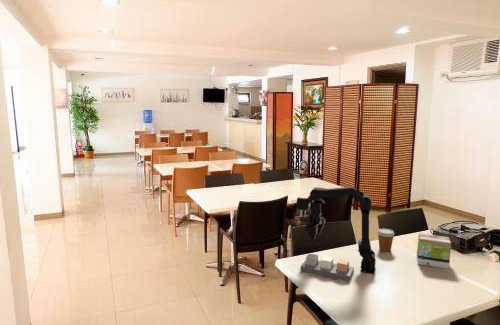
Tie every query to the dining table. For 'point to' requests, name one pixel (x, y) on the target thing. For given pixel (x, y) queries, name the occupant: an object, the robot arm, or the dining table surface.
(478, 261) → the dining table surface
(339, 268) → the terracotta key
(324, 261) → the cream key
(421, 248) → the tea box
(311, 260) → the light grey cube
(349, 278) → the grey slotted tray
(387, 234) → the disposable coffee cup
